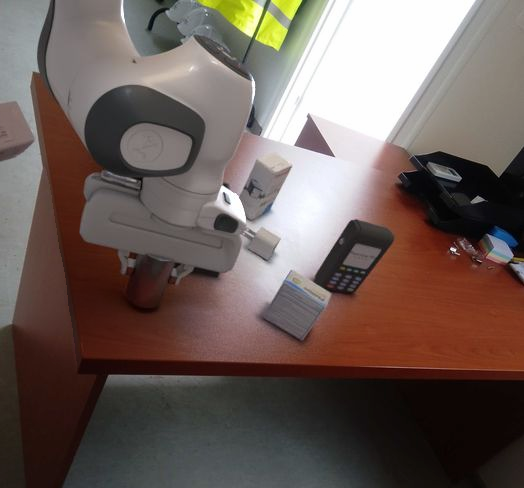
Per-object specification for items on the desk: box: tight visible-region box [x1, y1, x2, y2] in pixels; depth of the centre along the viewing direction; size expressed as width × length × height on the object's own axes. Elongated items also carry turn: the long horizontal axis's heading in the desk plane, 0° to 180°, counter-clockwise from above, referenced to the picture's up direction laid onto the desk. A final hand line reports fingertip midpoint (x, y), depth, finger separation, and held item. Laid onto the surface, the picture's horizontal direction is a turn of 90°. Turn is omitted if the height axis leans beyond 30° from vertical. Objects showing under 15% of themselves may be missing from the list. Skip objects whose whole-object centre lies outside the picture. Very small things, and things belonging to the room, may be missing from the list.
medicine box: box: [262, 269, 332, 342], centre depth 75 cm, size 8×4×9 cm, turn 71°
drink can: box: [124, 253, 176, 309], centre depth 63 cm, size 5×5×9 cm
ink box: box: [238, 152, 293, 221], centre depth 95 cm, size 9×5×12 cm, turn 150°
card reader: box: [314, 218, 395, 295], centre depth 87 cm, size 9×4×15 cm, turn 106°
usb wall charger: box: [241, 226, 282, 261], centre depth 89 cm, size 4×7×4 cm, turn 71°
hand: (150, 277), depth 64 cm, fingers closed on drink can, 5 cm apart
